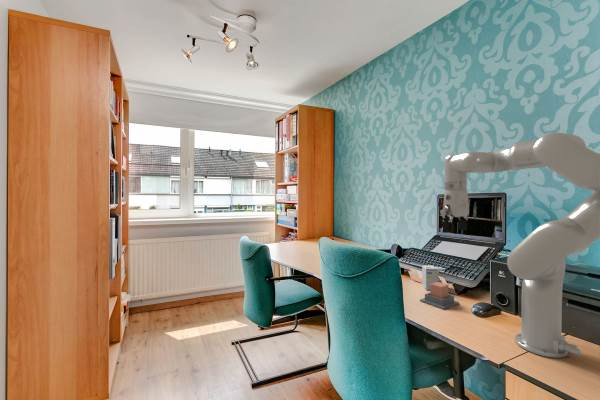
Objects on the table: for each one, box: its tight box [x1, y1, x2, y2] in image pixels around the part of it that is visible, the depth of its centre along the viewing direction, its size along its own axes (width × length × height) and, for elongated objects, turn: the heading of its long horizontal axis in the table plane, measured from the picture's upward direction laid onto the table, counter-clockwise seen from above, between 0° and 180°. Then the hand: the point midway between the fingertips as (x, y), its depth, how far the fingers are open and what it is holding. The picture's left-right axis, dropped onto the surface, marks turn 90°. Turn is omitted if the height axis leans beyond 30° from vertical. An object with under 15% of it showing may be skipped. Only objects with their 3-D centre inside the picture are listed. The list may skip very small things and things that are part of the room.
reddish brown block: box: [430, 282, 449, 299], centre depth 126 cm, size 5×5×7 cm
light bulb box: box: [421, 264, 445, 291], centre depth 145 cm, size 11×7×11 cm, turn 84°
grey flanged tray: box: [419, 291, 460, 311], centre depth 127 cm, size 11×11×3 cm
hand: (455, 231), depth 114 cm, fingers open, 9 cm apart
